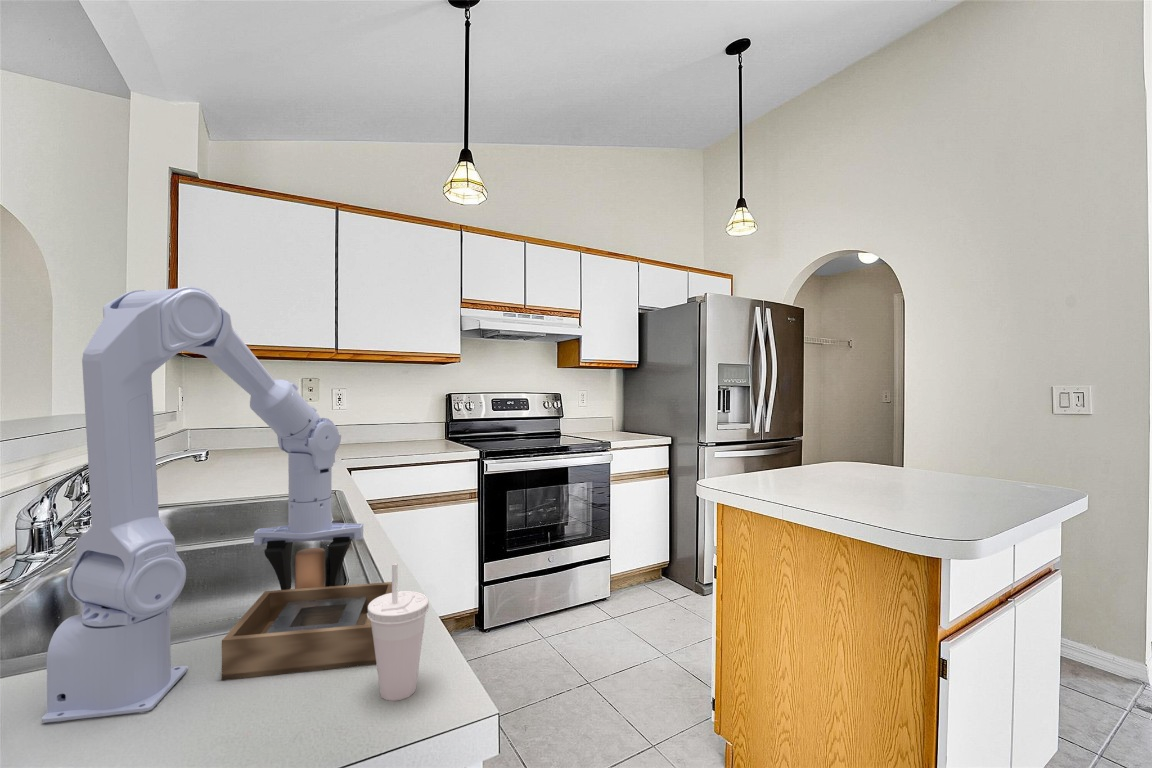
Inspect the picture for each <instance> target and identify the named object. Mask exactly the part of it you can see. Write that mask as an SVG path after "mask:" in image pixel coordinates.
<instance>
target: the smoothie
mask: <svg viewBox="0 0 1152 768" xmlns="http://www.w3.org/2000/svg"><path fill="white" fill-rule="evenodd" d="M398 573H399V570H398V563H396V562H395V563H392V564H391V582H392V593H388V594H385V595H382V596H379V597H377V598H375V599H374V600H372V601H371V602H370V603H369V605H368V613H367V616H368V618H369V619H370V621H371V625H372V634H373V641H374V648H375V656H376V664H375V665H376V671H377V677H378V678H377V679H378V685H379V686H378V687H379V694H380V697H381V698H382V699H384V700H386V701H391V702H393V701H401V700H405V699H407V698H409V697H411V696H412V695H413V694H414V693H415V692H416V690H417V684H418V683H417V682H418V678H419V677H418V675H419V669H420V661H421V660H420V659H421V652H422V651H421V650H422V645H423V634H424V630H425V629H424V628H425V622H426V621H425V620H426V614H427V613H428V612H429V609H430V604H429V597H428V596H427V595H425V594H424V593H421V592H418V591H413V590H411V591H410V590H409V591H408V590H403V591H398V578H399V577H398V575H399V574H398Z"/></svg>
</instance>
